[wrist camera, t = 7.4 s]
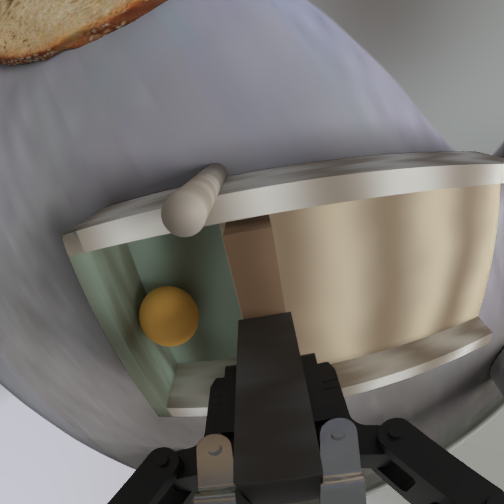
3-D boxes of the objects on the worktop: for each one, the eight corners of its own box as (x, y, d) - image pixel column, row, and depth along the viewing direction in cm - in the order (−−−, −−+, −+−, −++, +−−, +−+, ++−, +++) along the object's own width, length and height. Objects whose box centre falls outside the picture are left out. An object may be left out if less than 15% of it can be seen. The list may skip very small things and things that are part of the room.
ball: (177, 307, 14) (119, 310, 15) (198, 359, 16) (144, 358, 17) (196, 271, 18) (144, 277, 19) (211, 320, 20) (163, 322, 20)
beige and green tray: (474, 139, 15) (561, 159, 7) (456, 317, 22) (504, 375, 13) (101, 193, 17) (12, 244, 8) (175, 375, 23) (156, 458, 15)
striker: (271, 206, 14) (326, 390, 4) (296, 371, 19) (319, 514, 9) (222, 216, 14) (174, 407, 4) (261, 376, 19) (269, 520, 9)
